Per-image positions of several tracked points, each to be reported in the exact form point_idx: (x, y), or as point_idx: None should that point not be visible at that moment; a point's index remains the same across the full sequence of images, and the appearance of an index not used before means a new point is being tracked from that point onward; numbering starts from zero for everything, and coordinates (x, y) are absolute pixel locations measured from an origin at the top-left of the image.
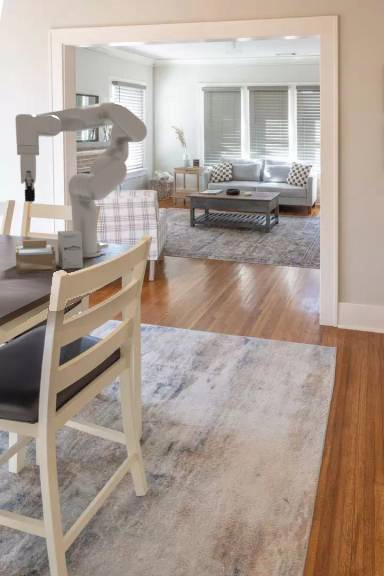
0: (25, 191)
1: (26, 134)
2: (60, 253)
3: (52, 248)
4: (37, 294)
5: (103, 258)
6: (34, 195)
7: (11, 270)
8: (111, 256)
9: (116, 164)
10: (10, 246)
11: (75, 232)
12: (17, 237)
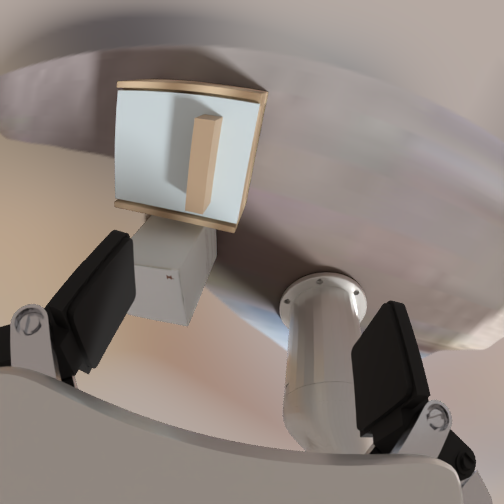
0: (60, 297)
1: None
2: (165, 224)
3: (169, 211)
4: (6, 125)
5: (261, 322)
6: (353, 371)
7: (194, 65)
8: (275, 340)
9: None
10: None
11: (139, 306)
12: None
